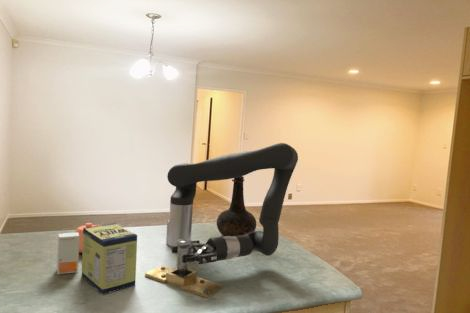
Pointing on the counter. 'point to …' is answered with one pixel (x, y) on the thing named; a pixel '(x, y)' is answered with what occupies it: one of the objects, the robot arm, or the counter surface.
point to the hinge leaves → (184, 281)
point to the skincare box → (68, 253)
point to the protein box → (109, 257)
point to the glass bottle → (236, 214)
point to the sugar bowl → (80, 231)
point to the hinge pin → (182, 250)
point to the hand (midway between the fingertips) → (177, 254)
